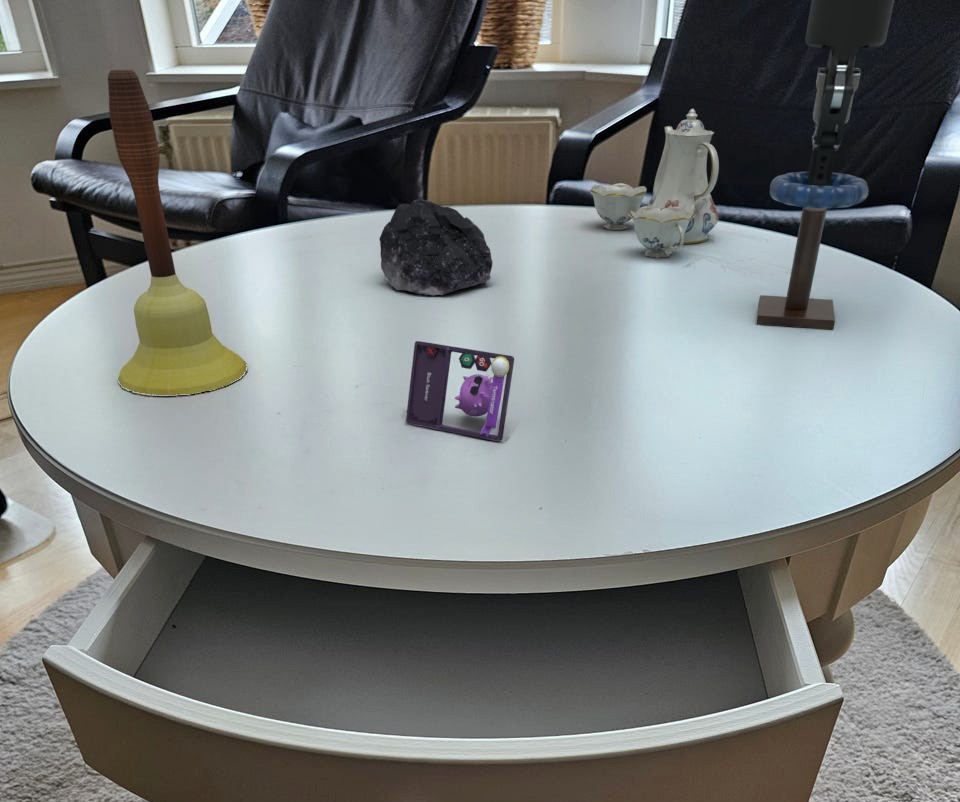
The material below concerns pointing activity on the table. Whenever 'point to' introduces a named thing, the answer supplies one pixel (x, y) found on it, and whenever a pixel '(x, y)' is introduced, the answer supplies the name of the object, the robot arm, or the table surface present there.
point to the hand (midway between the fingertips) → (817, 186)
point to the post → (801, 283)
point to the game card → (474, 391)
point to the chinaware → (668, 194)
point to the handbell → (162, 271)
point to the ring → (818, 191)
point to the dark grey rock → (433, 250)
